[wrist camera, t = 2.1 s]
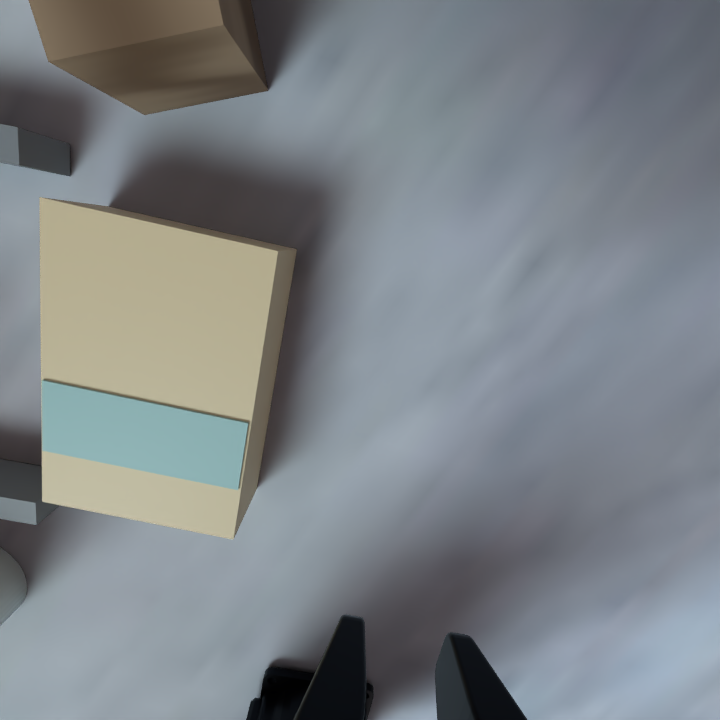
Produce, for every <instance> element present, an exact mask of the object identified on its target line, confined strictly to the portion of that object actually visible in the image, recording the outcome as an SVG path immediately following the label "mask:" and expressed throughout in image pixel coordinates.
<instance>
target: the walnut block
mask: <svg viewBox="0 0 720 720" xmlns="http://www.w3.org/2000/svg"><path fill="white" fill-rule="evenodd" d="M29 3H30V6H31V9H32V12H33V15H34V18H35V21H36V25H37V28H38V31H39V34H40V37H41V40H42V43H43V46H44V49H45V52H46V56H47V59H48V62H50V63H52V64H54V65H55V66H57V67H59V68H61V69H63V70H64V71H66V72H68V73H70V74H72V75H73V76H75V77H77V78H79V79H81V80H82V81H84V82H86V83H88V84H90V85H91V86H93V87H95V88H97V89H99V90H100V91H102V92H104V93H106V94H108V95H109V96H111V97H113V98H115V99H117V100H118V101H120V102H122V103H124V104H126V105H127V106H129V107H131V108H133V109H135V110H136V111H138V112H140V113H142V114H144V115H147V114H152V113H157V112H162V111H167V110H172V109H178V108H183V107H188V106H193V105H198V104H203V103H208V102H213V101H218V100H224V99H229V98H234V97H239V96H244V95H249V94H254V93H259V92H265V91H268V86H267V81H266V76H265V71H264V66H263V61H262V56H261V50H260V45H259V40H258V35H257V30H256V25H255V20H254V15H253V9H252V4H251V0H29Z"/></svg>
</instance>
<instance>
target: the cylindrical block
mask: <svg viewBox="0 0 720 720" xmlns="http://www.w3.org/2000/svg"><path fill="white" fill-rule="evenodd" d="M26 593H27V582H26V578H25V575H24V573H23V570H22V569H21V567H20V566H19V564H18V563H17V562H16V560H15V559H14V558H13V557H12V556H11V555H10V554H9V553H7V552H6V551H5V550H3V549H2V548H0V626H1V625H2V624H3V623H4V622H5V621H6V620H7V619H8V618H9V617H10V615H11V614H12V613H13V612H14V611H15V610H16V609H17V608H18V607H19V606H20V605H21V604H22V602H23V601H24V599H25V597H26Z"/></svg>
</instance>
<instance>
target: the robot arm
mask: <svg viewBox="0 0 720 720" xmlns="http://www.w3.org/2000/svg"><path fill="white" fill-rule="evenodd" d="M435 685H436V703H437V720H527V718H526V717H525V715H524V714H523V712H522V711H521V710H520V708H519V707H518V705H517V704H516V702H515V701H514V699H513V698H512V696H511V695H510V693H509V692H508V690H507V689H506V687H505V686H504V685H503V683H502V682H501V680H500V679H499V677H498V676H497V674H496V673H495V671H494V670H493V668H492V667H491V665H490V664H489V662H488V661H487V659H486V658H485V657H484V655H483V654H482V652H481V651H480V649H479V648H478V646H477V645H476V643H475V642H474V640H473V639H472V638H471V637H470V636H468V635H465V634H459V633H453V632H450V633H448V634H447V635H446V637H445V639H444V642H443V646H442V649H441V652H440V655H439V658H438V661H437V664H436V670H435ZM372 700H373V686H372V685H371V684H370V683H366V655H365V623H364V620H363V618H361V617H357V616H351V615H343V616H342V617H341V618H340V621H339V623H338V625H337V627H336V629H335V631H334V633H333V636H332V638H331V640H330V642H329V644H328V646H327V649H326V651H325V653H324V655H323V657H322V659H321V661H320V664H319V666H318V668H317V670H316V672H315V674H311V673H305V672H299V671H293V670H287V669H281V668H275V667H271V668H268V669H267V670H266V671H265V674H264V678H263V684H262V690H261V696H260V698H254V699H253V700H252V701H251V704H250V707H249V711H248V715H247V719H246V720H367V718H368V715H369V711H370V707H371V704H372Z"/></svg>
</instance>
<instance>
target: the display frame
mask: <svg viewBox="0 0 720 720" xmlns="http://www.w3.org/2000/svg"><path fill="white" fill-rule="evenodd" d="M0 162H1V163H6V164H11V165H16V166H21V167H26V168H31V169H36V170H41V171H46V172H51V173H56V174H61V175H66V176H70V144H68V143H65V142H61V141H58V140H55V139H52V138H49V137H46V136H43V135H40V134H37V133H34V132H31V131H27V130H24V129H21V128H18V127H14V126H9V125H4V124H0ZM58 506H59V505H56V504H51V503H46V502H42V466H37V465H31V464H26V463H20V462H14V461H9V460H3V459H0V519H4V520H10V521H16V522H21V523H27V524H33V525H37V524H38V523H40V522H41V521H42V520H43V519H44V518H45V517H47V516H48V515H49V514H50V513H51V512H52V511H54V510H55V509H56V508H57V507H58Z"/></svg>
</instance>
